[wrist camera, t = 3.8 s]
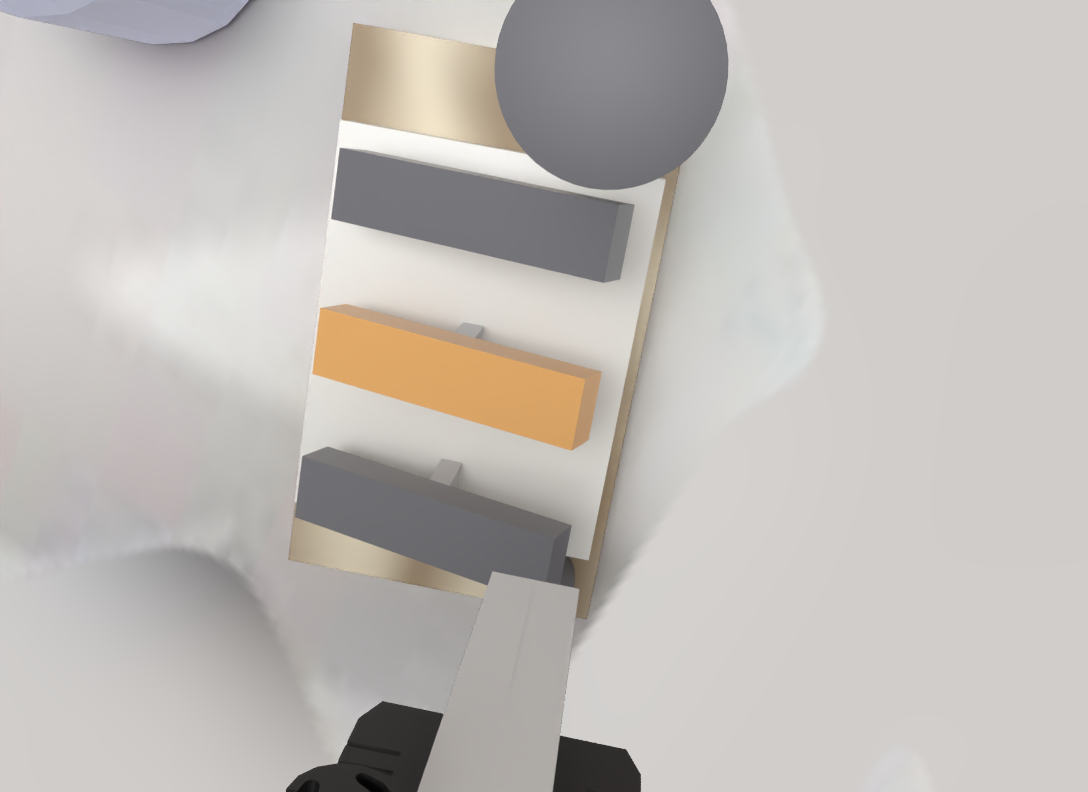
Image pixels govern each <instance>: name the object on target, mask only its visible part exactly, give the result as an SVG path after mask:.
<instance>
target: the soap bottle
mask: <svg viewBox="0 0 1088 792" xmlns="http://www.w3.org/2000/svg"><path fill="white" fill-rule="evenodd" d="M248 1H249V0H0V11H1V12H4V13H7V14H10V15H13V16H16V17H20V18H25V19H30V20H34V21H39V22H44V23H49V24H54V25H59V26H64V27H69V28H74V29H79V30H84V31H89V32H94V33H98V34H103V35H108V36H113V37H118V38H123V39H128V40H133V41H138V42H143V43H148V44H153V45H155V44H171V43H187V42H193V41H195V40H197V39H199V38H202V37H204V36H206V35H208V34H210V33H212V32H214V31H216V30H218V29H220V28H222V27H224V26H226V25H227V24H228V23H229V22H230V21H231V20H232V19H233V18H234V17H235V15H236V14H237V13H238V12H239V11H240V10H241V9H242V8H243V7H244V6H245V4H246V3H247V2H248Z"/></svg>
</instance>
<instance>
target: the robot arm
mask: <svg viewBox="0 0 1088 792" xmlns="http://www.w3.org/2000/svg"><path fill="white" fill-rule="evenodd" d="M578 595H579V589H577V588H572V587H567V586H562V585H557V584H552V583H547V582H542V581H538V580H533V579H528V578H523V577H518V576H513V575H508V574H503V573H498V572H493V571H492V574H491V577H490V580H489V583H488V586H487V589H486V592H485V595H484V598H483V601H482V603H481V606H480V609H479V612H478V615H477V618H476V621H475V624H474V627H473V630H472V633H471V636H470V639H469V642H468V645H467V647H466V650H465V653H464V656H463V659H462V662H461V665H460V668H459V671H458V674H457V677H456V680H455V683H454V686H453V688H452V691H451V694H450V697H449V700H448V703H447V706H446V709H445V712H444V714H441V713H436V712H431V711H427V710H422V709H417V708H412V707H408V706H403V705H398V704H393V703H388V702H384V701H382V702H381V703H380V704H378V705H377V706H375V707H374V708H372V709H371V710H370V711H368V712H367V713H365V714H364V715H363V716H361V717H360V718H359V719H358V721H357V723H356V725H355V727H354V729H353V731H352V733H351V735H350V737H349V739H348V742H347V745H346V746H345V748H344V750H343V752H342V754H341V756H340V758H339V761H338V764H332V765H326V766H319V767H316V768H313V769H311V770H309V771H307V772H305V773H303V774H301V775H299V776H298V777H297V778H296V779H295V780H294V781H293V782H292V783H291V784H290V785H289V786H288V788H287V789H286V792H641V774H640V773H639V771H638V769H637V768H636V766H635V764H634V762H633V761H632V759H631V757H630V755H629V754H628V752H627V750H626V749H621V748H616V747H611V746H606V745H602V744H597V743H592V742H588V741H582V740H578V739H573V738H568V737H563V736H560V730H561V724H562V716H563V709H564V701H565V693H566V685H567V678H568V671H569V663H570V656H571V648H572V641H573V633H574V625H575V618H576V610H577V603H578Z"/></svg>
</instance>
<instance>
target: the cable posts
mask: <svg viewBox="0 0 1088 792" xmlns="http://www.w3.org/2000/svg"><path fill="white" fill-rule="evenodd" d="M494 68H495V86H496V92H497V98H498V102H499V105H500V109H501V112H502V115H503V117H504V119H505V122H506V124H507V126H508V128H509V130H510V132H511V133H512V135H513V137H514V138H515V140H516V141H517V143H518V144H519V145H520V146H521V148H522V149H523V150H524V152H525V153H526V154H527V155H528V156H529V157H530V158H531V159H532V160H533V161H534V162H535V163H537V164H538V165H539V166H541V167H542V168H543V169H545V170H546V171H547V172H549V173H551V174H552V175H554V176H556V177H558V178H560V179H562V180H564V181H567V182H569V183H572V184H574V185H578V186H582V187H586V188H591V189H599V190H620V189H626V188H633V187H636V186H640V185H643V184H647V183H649V182H652V181H654V180H656V179H658V178H661V177H663V176H664V175H666V174H668V173H669V172H671V171H673V170H674V169H676V168H677V167H678V166H679V165H681V164H682V163H683V162H684V161H686V160H687V159H688V158H689V157H690V156H691V155H692V154H693V153H694V152H695V151H696V150H697V149H698V147H699V146H700V145H701V143H702V142H703V141H704V139H705V138H706V137H707V135H708V133H709V132H710V130H711V128H712V126H713V125H714V123H715V121H716V119H717V116H718V114H719V111H720V109H721V106H722V103H723V99H724V95H725V92H726V85H727V78H728V53H727V44H726V40H725V35H724V31H723V27H722V25H721V22H720V20H719V17H718V14H717V12H716V10H715V8H714V7H713V5H712V3H711V1H710V0H515V2H514V3H513V5H512V6H511V8H510V10H509V12H508V14H507V16H506V18H505V21H504V23H503V26H502V29H501V32H500V35H499V39H498V43H497V48H496V55H495V66H494ZM560 585H562V586H567V587H572V588H574V585H575V569H574V566H573V563H572V561H571V559H570V557H569V556H566V557H565V562H564V568H563V573H562V578H561V583H560Z"/></svg>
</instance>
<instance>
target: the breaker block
mask: <svg viewBox="0 0 1088 792" xmlns="http://www.w3.org/2000/svg"><path fill="white" fill-rule="evenodd" d="M340 148H350V149H361V150H369V151H373V152H378V153H383V154H388V155H393V156H398V157H403V158H408V159H413V160H417V161H422V162H427V163H432V164H437V165H442V166H447V167H452V168H457V169H462V170H466V171H471V172H476V173H481V174H486V175H491V176H496V177H501V178H506V179H510V180H515V181H520V182H525V183H530V184H535V185H540V186H545V187H550V188H555V189H559V190H564V191H569V192H574V193H579V194H584V195H589V196H594V197H599V198H603V199H608V200H613V201H618V202H623V203H628V204H633V205H635V206H634V211H633V216H632V221H631V226H630V232H629V237H628V242H627V247H626V252H625V257H624V262H623V267H622V272H621V277H620V280H615V281H610V282H606V283H602V282H598V281H593V280H589V279H585V278H581V277H576V276H572V275H568V274H564V273H559V272H555V271H551V270H546V269H542V268H538V267H534V266H529V265H525V264H521V263H517V262H512V261H508V260H504V259H499V258H495V257H491V256H487V255H482V254H478V253H474V252H470V251H465V250H461V249H457V248H452V247H448V246H444V245H440V244H435V243H431V242H427V241H423V240H418V239H414V238H410V237H405V236H401V235H397V234H393V233H388V232H384V231H380V230H376V229H371V228H367V227H363V226H358V225H354V224H350V223H346V222H341V221H337V220H333V219H331V216H332V208H333V199H334V191H335V183H336V175H337V166H338V158H339V150H340ZM665 181H666V179H665V178H663V177H661V178H658V179H656V180H654V181H652V182H649V183H647V184H643V185H640V186H636V187H633V188H626V189H620V190H599V189H591V188H586V187H582V186H578V185H574V184H572V183H569V182H567V181H564V180H562V179H560V178H558V177H556V176H554V175H552V174H551V173H549V172H547V171H546V170H545V169H543V168H542V167H541V166H539V165H538V164H537V163H535V162H534V161H533V160H532V159H531V158H530V157H529V156H528V155H527V154H526V153H525V152H521V151H516V150H510V149H505V148H499V147H494V146H488V145H483V144H477V143H472V142H467V141H461V140H456V139H450V138H445V137H439V136H434V135H428V134H423V133H418V132H412V131H407V130H401V129H396V128H390V127H385V126H379V125H374V124H369V123H363V122H358V121H349V120H340V125H339V133H338V142H337V150H336V158H335V167H334V175H333V183H332V191H331V200H330V208H329V216H328V224H327V233H326V241H325V249H324V258H323V266H322V274H321V282H320V291H319V299H318V307H317V316H316V324H315V332H314V340H313V349H312V357H311V365H310V373H309V382H308V390H307V398H306V407H305V415H304V423H303V431H302V440H301V448H300V456H299V465H298V473H297V481H296V489H295V498H294V502H296V503H297V496H298V487H299V479H300V471H301V463H302V456H304V455H306V454H309V453H312V452H314V451H317V450H320V449H322V448H325V447H327V446H328V447H331V448H334V449H337V450H340V451H343V452H347V453H350V454H353V455H356V456H359V457H362V458H365V459H368V460H371V461H374V462H378V463H381V464H384V465H387V466H390V467H393V468H396V469H399V470H402V471H405V472H408V473H412V474H415V475H418V476H421V477H424V478H427V479H430V480H433V481H436V482H439V483H443V484H446V485H449V486H452V487H455V488H458V489H461V490H464V491H467V492H470V493H473V494H477V495H480V496H483V497H486V498H489V499H492V500H495V501H498V502H501V503H504V504H508V505H511V506H514V507H517V508H520V509H523V510H526V511H529V512H532V513H535V514H538V515H542V516H545V517H548V518H551V519H554V520H557V521H560V522H563V523H566V524H569V525H572V527H571V532H570V537H569V542H568V547H567V552H566V556H569V557H574V558H579V559H584V560H589V556H590V551H591V546H592V541H593V536H594V531H595V526H596V521H597V517H598V512H599V507H600V502H601V497H602V492H603V487H604V482H605V477H606V472H607V467H608V462H609V457H610V453H611V448H612V443H613V438H614V433H615V428H616V423H617V418H618V413H619V408H620V403H621V398H622V393H623V388H624V384H625V379H626V374H627V369H628V364H629V359H630V354H631V349H632V344H633V339H634V334H635V329H636V324H637V319H638V315H639V310H640V305H641V300H642V295H643V290H644V285H645V280H646V275H647V270H648V265H649V260H650V255H651V250H652V246H653V241H654V236H655V231H656V226H657V221H658V216H659V211H660V206H661V201H662V196H663V191H664V186H665ZM341 304H349V305H353V306H356V307H360V308H364V309H368V310H371V311H375V312H379V313H383V314H386V315H390V316H394V317H398V318H402V319H405V320H409V321H413V322H417V323H420V324H424V325H428V326H432V327H435V328H439V329H443V330H447V331H451V332H454V333H458V334H462V335H466V336H469V337H473V338H477V339H481V340H484V341H488V342H492V343H496V344H499V345H503V346H507V347H511V348H515V349H518V350H522V351H526V352H530V353H533V354H537V355H541V356H545V357H548V358H552V359H556V360H560V361H564V362H567V363H571V364H575V365H579V366H582V367H586V368H590V369H594V370H597V371H601V372H602V374H601V379H600V384H599V389H598V394H597V400H596V405H595V410H594V415H593V420H592V425H591V430H590V435H589V440H588V441H586V442H585V443H583V444H582V445H580V446H578V447H577V448H575V449H574V450H572V451H571V450H567V449H564V448H561V447H557V446H554V445H550V444H547V443H544V442H540V441H537V440H534V439H530V438H527V437H523V436H520V435H517V434H513V433H510V432H507V431H503V430H500V429H496V428H493V427H490V426H486V425H483V424H480V423H476V422H473V421H469V420H466V419H463V418H459V417H456V416H453V415H449V414H446V413H442V412H439V411H436V410H432V409H429V408H426V407H422V406H419V405H416V404H412V403H409V402H405V401H402V400H399V399H395V398H392V397H389V396H385V395H382V394H378V393H375V392H372V391H368V390H365V389H362V388H358V387H355V386H351V385H348V384H345V383H341V382H338V381H335V380H331V379H328V378H324V377H321V376H318V375H314V374H312V372H313V364H314V356H315V347H316V339H317V331H318V323H319V315H320V308H322V307H329V306H335V305H341Z"/></svg>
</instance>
